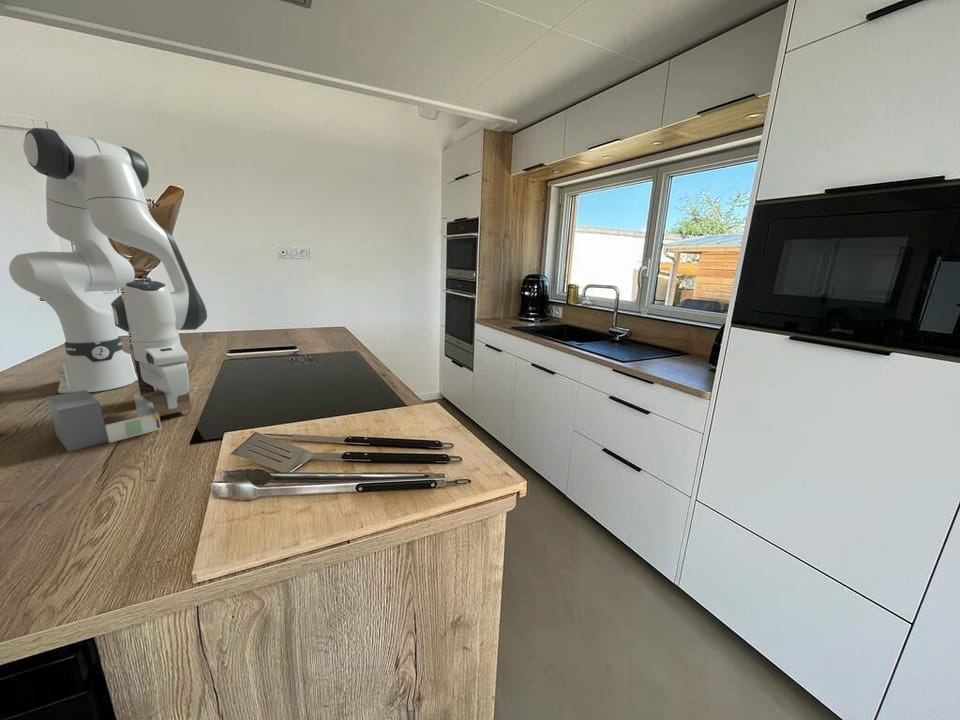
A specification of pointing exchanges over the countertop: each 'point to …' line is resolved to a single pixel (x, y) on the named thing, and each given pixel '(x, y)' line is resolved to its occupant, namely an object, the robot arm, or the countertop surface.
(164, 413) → the tan block
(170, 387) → the robot arm
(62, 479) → the countertop surface
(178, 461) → the countertop surface
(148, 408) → the light grey thin panel
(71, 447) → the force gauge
